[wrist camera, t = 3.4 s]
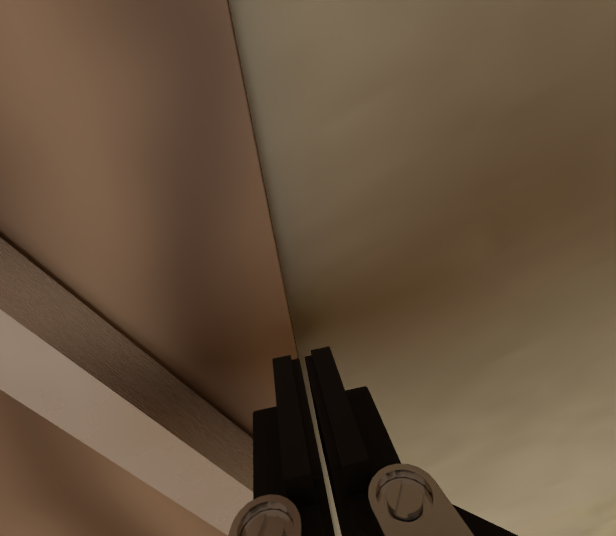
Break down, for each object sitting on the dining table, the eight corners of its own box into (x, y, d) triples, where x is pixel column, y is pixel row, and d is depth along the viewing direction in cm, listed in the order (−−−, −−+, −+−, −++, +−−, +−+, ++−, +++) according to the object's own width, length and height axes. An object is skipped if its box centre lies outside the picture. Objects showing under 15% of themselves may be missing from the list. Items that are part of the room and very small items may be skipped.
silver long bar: (-305, -23, 8) (-569, -87, 6) (296, 464, 15) (303, 535, 13) (-367, 62, 9) (-640, 38, 6) (247, 498, 16) (244, 573, 13)
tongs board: (194, -172, 9) (150, -356, 6) (337, 554, 21) (353, 650, 17) (-598, -69, 9) (-1238, -207, 5) (-2, 629, 20) (-63, 748, 16)
